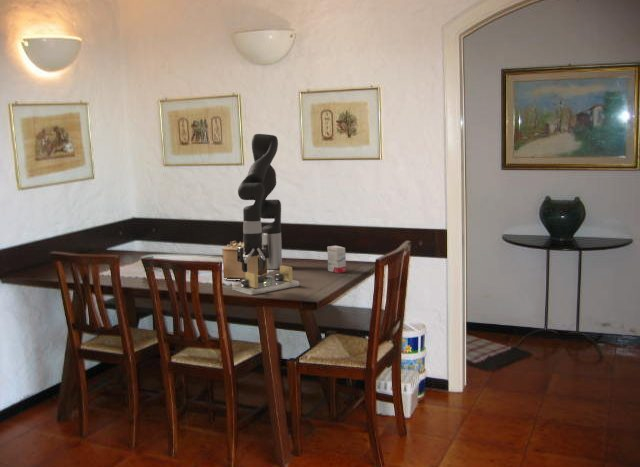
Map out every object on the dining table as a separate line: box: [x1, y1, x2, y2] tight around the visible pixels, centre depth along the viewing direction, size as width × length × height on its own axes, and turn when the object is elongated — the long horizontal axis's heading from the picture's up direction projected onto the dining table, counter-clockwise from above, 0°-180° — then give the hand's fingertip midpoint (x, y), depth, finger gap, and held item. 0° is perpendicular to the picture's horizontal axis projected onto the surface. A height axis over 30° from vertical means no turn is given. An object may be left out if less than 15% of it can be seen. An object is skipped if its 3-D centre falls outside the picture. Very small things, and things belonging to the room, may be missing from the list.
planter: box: [222, 239, 274, 280], centre depth 331 cm, size 25×25×19 cm
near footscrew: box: [240, 271, 258, 288], centre depth 305 cm, size 9×5×6 cm, turn 40°
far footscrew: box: [274, 264, 293, 282], centre depth 317 cm, size 9×5×6 cm, turn 40°
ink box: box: [326, 245, 347, 274], centre depth 344 cm, size 9×5×12 cm, turn 33°
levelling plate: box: [231, 275, 300, 296], centre depth 312 cm, size 14×25×5 cm, turn 130°
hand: (253, 270), depth 302 cm, fingers open, 8 cm apart
